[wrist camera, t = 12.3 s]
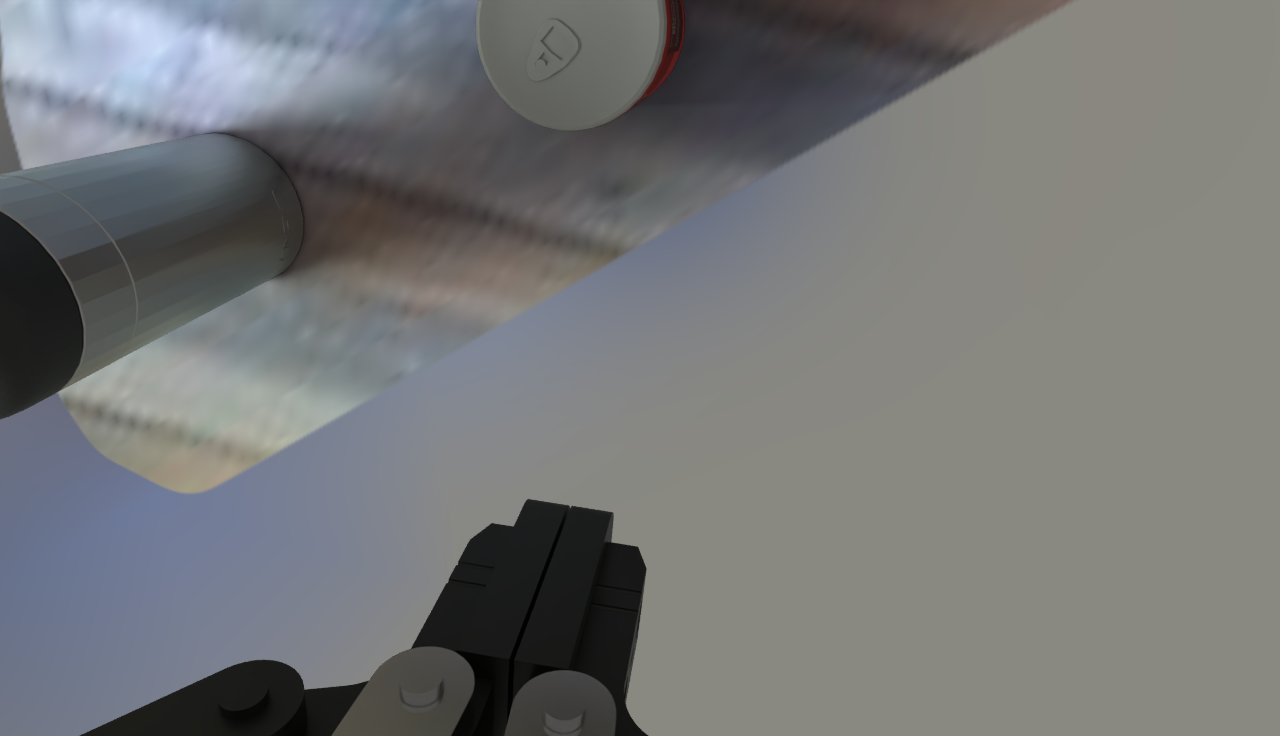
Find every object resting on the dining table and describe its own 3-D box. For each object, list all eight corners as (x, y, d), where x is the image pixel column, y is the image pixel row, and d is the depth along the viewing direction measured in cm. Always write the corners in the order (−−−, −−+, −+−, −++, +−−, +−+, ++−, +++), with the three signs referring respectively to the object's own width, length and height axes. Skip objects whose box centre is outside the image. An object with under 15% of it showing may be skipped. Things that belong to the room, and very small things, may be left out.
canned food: (519, 67, 42) (447, 80, 32) (577, -86, 38) (517, -125, 28) (644, 133, 42) (612, 166, 32) (713, -13, 39) (700, -25, 29)
